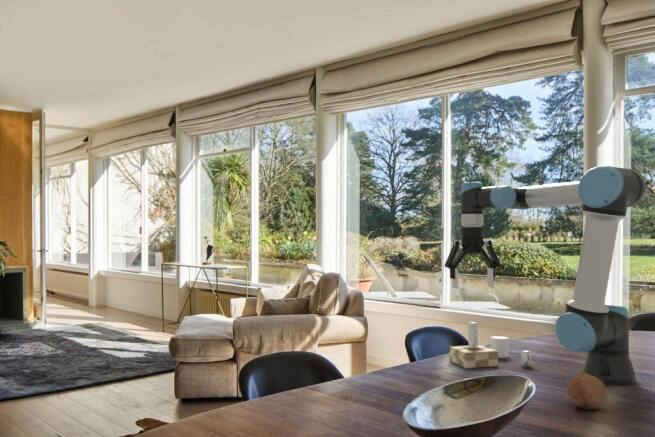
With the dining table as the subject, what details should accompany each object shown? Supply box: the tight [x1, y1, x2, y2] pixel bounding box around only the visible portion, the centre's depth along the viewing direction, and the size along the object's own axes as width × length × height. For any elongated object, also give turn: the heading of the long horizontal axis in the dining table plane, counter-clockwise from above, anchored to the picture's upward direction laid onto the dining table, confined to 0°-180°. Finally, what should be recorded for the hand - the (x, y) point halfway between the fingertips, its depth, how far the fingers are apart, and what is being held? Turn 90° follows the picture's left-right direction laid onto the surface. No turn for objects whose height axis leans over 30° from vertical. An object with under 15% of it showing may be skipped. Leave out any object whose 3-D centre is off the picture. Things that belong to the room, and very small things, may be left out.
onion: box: [567, 371, 609, 412], centre depth 160 cm, size 10×9×10 cm
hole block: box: [449, 344, 499, 369], centre depth 214 cm, size 12×12×5 cm
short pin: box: [520, 350, 532, 368], centre depth 209 cm, size 3×3×5 cm
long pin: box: [467, 321, 479, 350], centre depth 214 cm, size 3×3×14 cm
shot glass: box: [489, 335, 510, 359], centre depth 226 cm, size 7×7×7 cm
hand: (473, 287), depth 214 cm, fingers open, 13 cm apart
